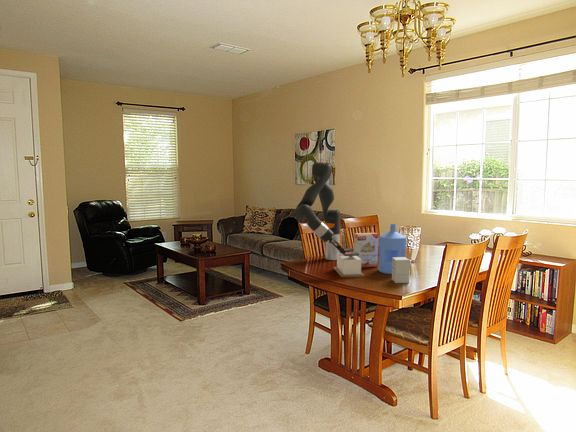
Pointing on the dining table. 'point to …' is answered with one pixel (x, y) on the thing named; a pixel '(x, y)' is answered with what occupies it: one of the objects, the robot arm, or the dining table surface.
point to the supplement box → (400, 269)
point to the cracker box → (366, 248)
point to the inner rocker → (347, 250)
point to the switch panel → (348, 266)
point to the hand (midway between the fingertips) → (344, 253)
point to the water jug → (390, 249)
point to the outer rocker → (351, 254)
